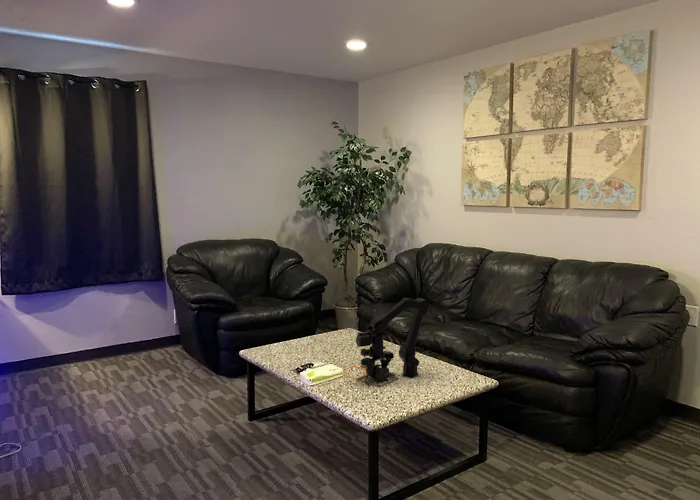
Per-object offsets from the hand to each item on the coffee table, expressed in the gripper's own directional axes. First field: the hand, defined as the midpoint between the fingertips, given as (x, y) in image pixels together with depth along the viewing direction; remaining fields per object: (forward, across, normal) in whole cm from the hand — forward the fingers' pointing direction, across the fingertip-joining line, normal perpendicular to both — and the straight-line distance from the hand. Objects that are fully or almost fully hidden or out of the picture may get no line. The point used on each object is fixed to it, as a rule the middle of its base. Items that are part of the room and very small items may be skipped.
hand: (377, 375), depth 256 cm
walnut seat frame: (+2, 0, 0) cm, 2 cm away
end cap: (+2, 0, 0) cm, 2 cm away
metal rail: (+2, -9, -8) cm, 12 cm away
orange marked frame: (+2, 0, -15) cm, 15 cm away
